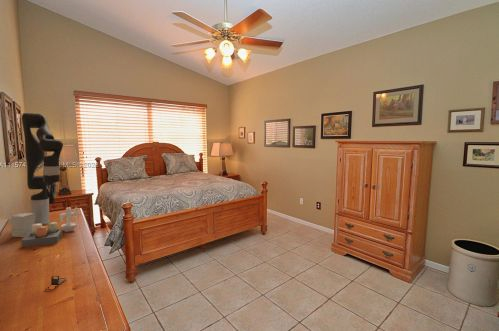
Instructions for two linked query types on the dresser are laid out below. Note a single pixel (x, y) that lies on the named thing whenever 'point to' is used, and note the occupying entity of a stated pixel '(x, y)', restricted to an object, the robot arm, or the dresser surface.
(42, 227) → the brown egg
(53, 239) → the grey square tray
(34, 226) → the white egg
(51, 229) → the green egg
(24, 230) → the supplement box
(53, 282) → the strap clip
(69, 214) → the figurine
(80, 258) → the dresser surface
